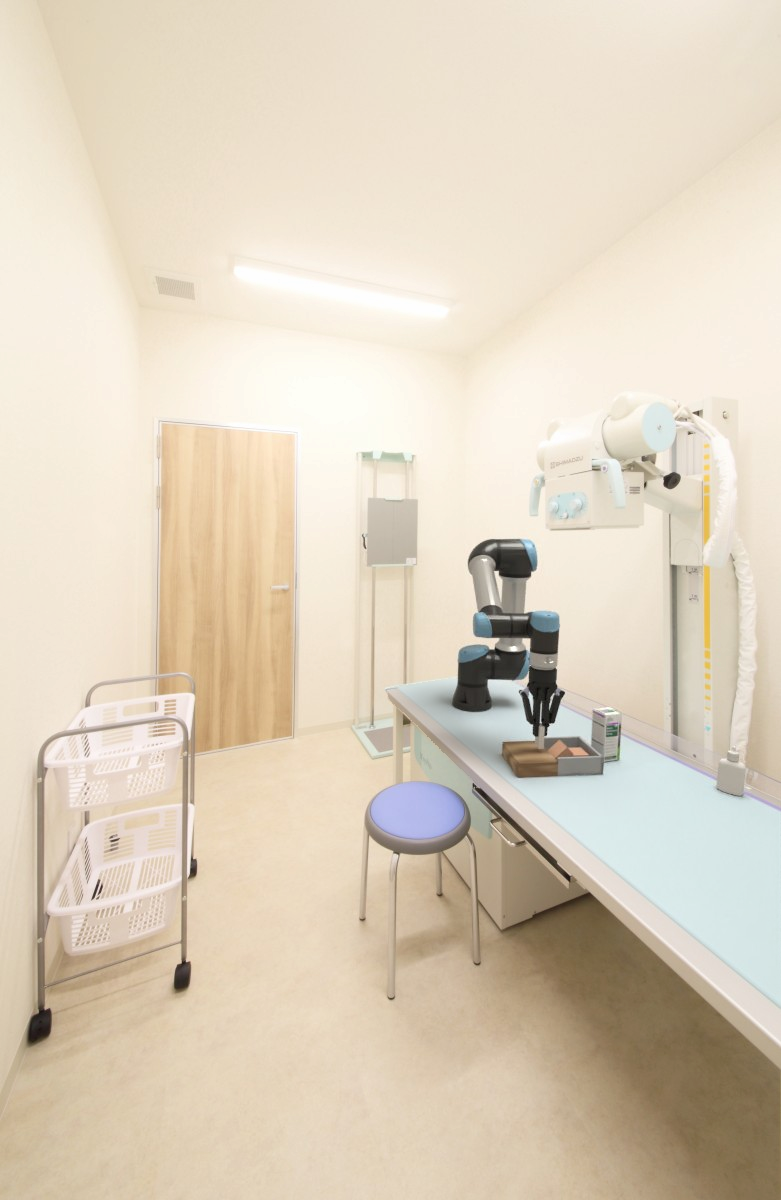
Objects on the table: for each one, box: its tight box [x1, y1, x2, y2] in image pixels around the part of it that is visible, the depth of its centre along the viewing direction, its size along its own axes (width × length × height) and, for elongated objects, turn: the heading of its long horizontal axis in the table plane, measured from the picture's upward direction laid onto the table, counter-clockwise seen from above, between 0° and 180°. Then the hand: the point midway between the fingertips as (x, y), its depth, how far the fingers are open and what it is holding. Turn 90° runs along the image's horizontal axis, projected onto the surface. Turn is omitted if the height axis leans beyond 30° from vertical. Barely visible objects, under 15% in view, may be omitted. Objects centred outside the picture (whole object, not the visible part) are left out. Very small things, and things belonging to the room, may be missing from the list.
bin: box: [544, 735, 605, 777], centre depth 136 cm, size 14×13×5 cm
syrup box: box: [590, 706, 623, 763], centre depth 140 cm, size 6×6×14 cm
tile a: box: [548, 740, 573, 760], centre depth 136 cm, size 5×5×3 cm
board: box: [501, 740, 559, 779], centre depth 135 cm, size 14×11×4 cm
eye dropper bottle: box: [715, 745, 747, 797], centre depth 121 cm, size 4×6×12 cm
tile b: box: [569, 747, 589, 757], centre depth 136 cm, size 5×5×3 cm
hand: (539, 746), depth 135 cm, fingers closed
